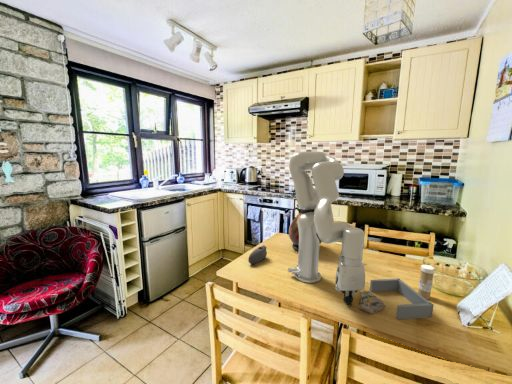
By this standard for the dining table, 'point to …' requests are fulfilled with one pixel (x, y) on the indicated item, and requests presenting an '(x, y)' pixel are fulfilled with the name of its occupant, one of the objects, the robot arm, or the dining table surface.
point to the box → (406, 311)
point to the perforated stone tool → (257, 255)
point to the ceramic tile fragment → (370, 302)
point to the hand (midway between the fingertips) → (347, 303)
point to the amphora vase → (294, 227)
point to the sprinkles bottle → (426, 281)
